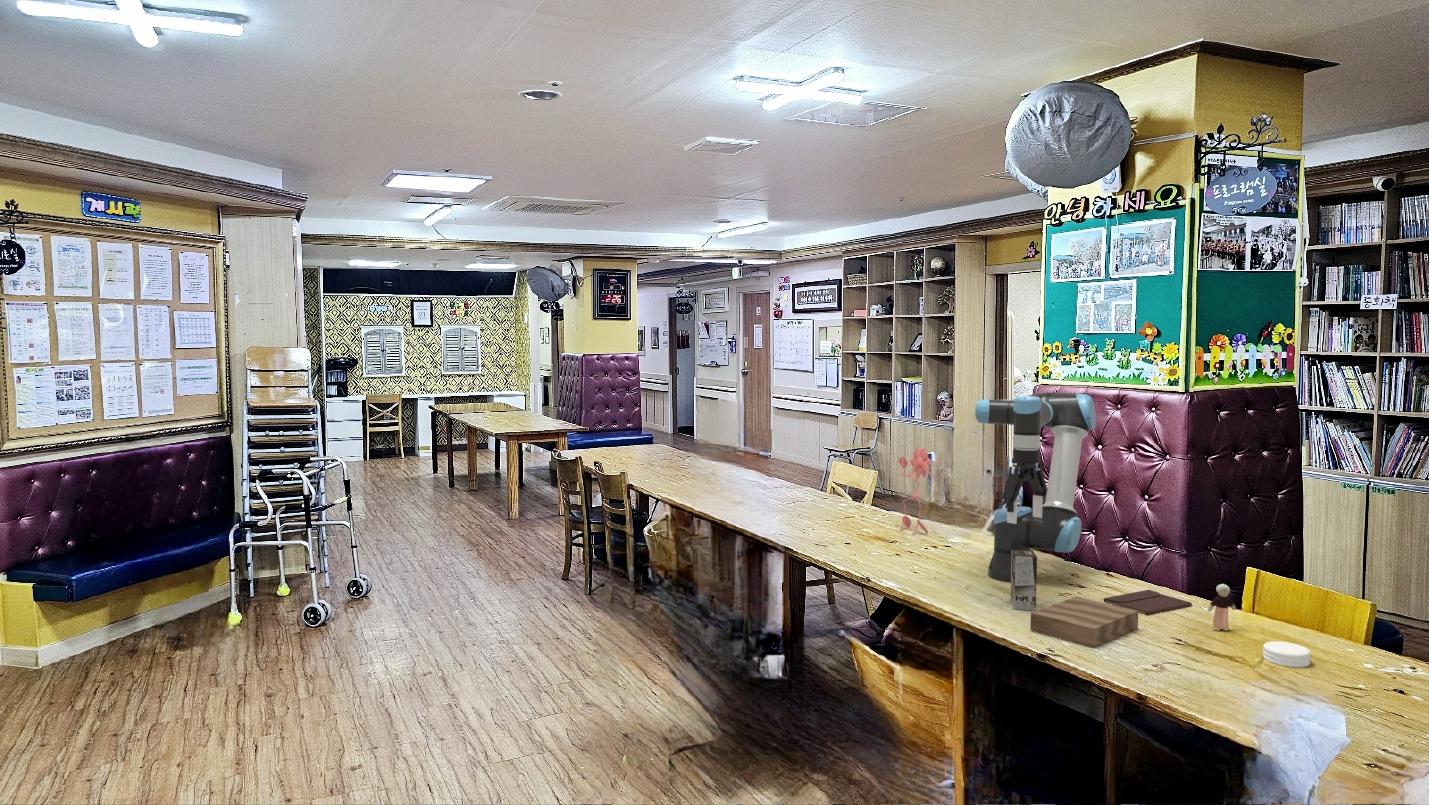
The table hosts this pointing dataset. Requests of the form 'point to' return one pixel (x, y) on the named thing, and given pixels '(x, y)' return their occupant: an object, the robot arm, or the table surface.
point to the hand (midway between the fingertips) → (1024, 520)
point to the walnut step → (1084, 621)
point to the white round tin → (1286, 654)
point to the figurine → (919, 467)
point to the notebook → (1147, 602)
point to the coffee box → (1023, 579)
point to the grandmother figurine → (1221, 607)
